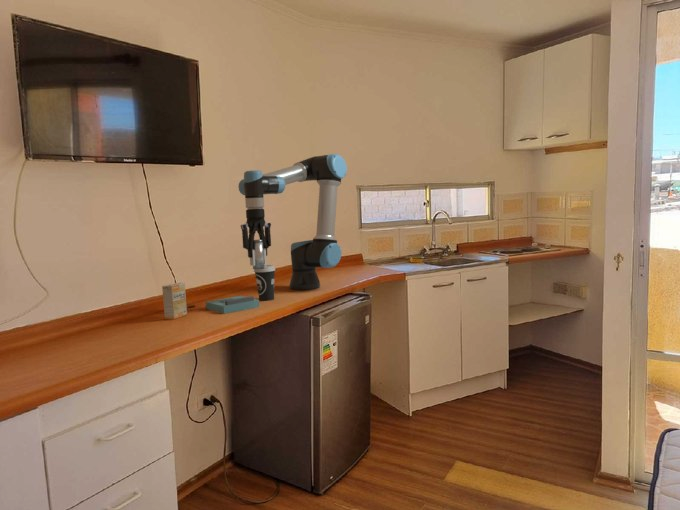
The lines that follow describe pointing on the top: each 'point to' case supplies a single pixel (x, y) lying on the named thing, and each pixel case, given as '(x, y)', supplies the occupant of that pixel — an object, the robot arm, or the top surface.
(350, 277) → the top surface
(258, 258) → the metal cylinder
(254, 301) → the jig
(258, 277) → the coffee cup
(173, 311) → the supplement box
